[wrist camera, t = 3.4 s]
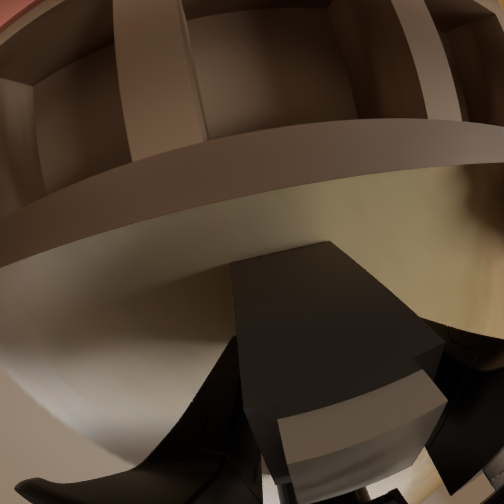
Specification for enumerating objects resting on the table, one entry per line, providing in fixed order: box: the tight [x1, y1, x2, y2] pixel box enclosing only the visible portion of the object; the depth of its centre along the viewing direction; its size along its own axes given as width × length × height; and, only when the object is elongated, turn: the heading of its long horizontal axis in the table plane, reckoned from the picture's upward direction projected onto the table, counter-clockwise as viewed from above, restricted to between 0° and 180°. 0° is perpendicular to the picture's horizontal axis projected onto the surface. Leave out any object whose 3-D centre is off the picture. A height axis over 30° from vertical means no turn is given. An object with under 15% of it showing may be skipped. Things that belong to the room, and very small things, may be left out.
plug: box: [231, 241, 448, 504], centre depth 8 cm, size 4×4×8 cm
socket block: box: [0, 0, 504, 268], centre depth 6 cm, size 11×22×5 cm, turn 101°
